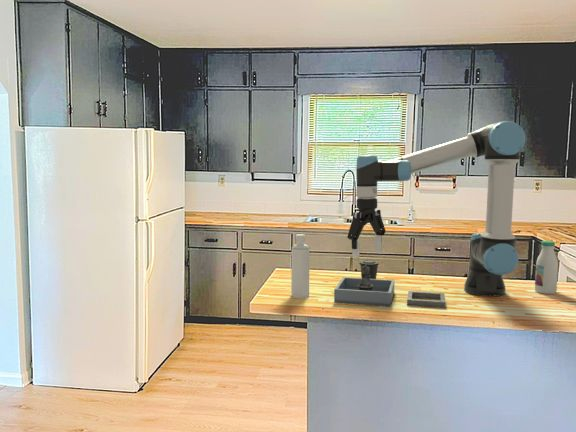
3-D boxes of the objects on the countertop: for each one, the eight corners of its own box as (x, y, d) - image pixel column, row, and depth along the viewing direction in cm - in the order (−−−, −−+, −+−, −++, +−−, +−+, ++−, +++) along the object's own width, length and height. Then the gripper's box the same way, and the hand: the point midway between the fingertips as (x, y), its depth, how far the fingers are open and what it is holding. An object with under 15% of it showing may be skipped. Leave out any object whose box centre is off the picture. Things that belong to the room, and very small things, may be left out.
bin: (394, 292, 207) (394, 280, 206) (390, 306, 187) (390, 292, 187) (342, 289, 212) (343, 277, 211) (334, 302, 192) (334, 289, 192)
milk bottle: (556, 290, 210) (559, 240, 208) (556, 295, 203) (559, 243, 201) (534, 288, 214) (537, 239, 211) (534, 293, 207) (537, 242, 204)
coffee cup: (364, 281, 226) (364, 258, 225) (382, 284, 221) (382, 260, 220) (355, 285, 219) (355, 261, 218) (373, 288, 214) (373, 263, 213)
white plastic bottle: (297, 292, 206) (298, 228, 204) (312, 295, 203) (312, 230, 200) (287, 296, 201) (288, 230, 198) (302, 299, 197) (303, 232, 194)
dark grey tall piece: (376, 294, 200) (377, 263, 198) (367, 297, 195) (368, 265, 194) (363, 292, 204) (363, 261, 202) (354, 295, 199) (354, 263, 198)
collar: (444, 298, 199) (444, 293, 198) (445, 308, 186) (445, 302, 186) (408, 296, 202) (408, 290, 202) (407, 305, 189) (407, 299, 189)
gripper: (354, 200, 184) (354, 261, 186) (394, 196, 202) (394, 251, 204) (337, 199, 189) (337, 258, 192) (378, 195, 207) (378, 249, 209)
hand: (367, 255), depth 198 cm, fingers open, 13 cm apart
